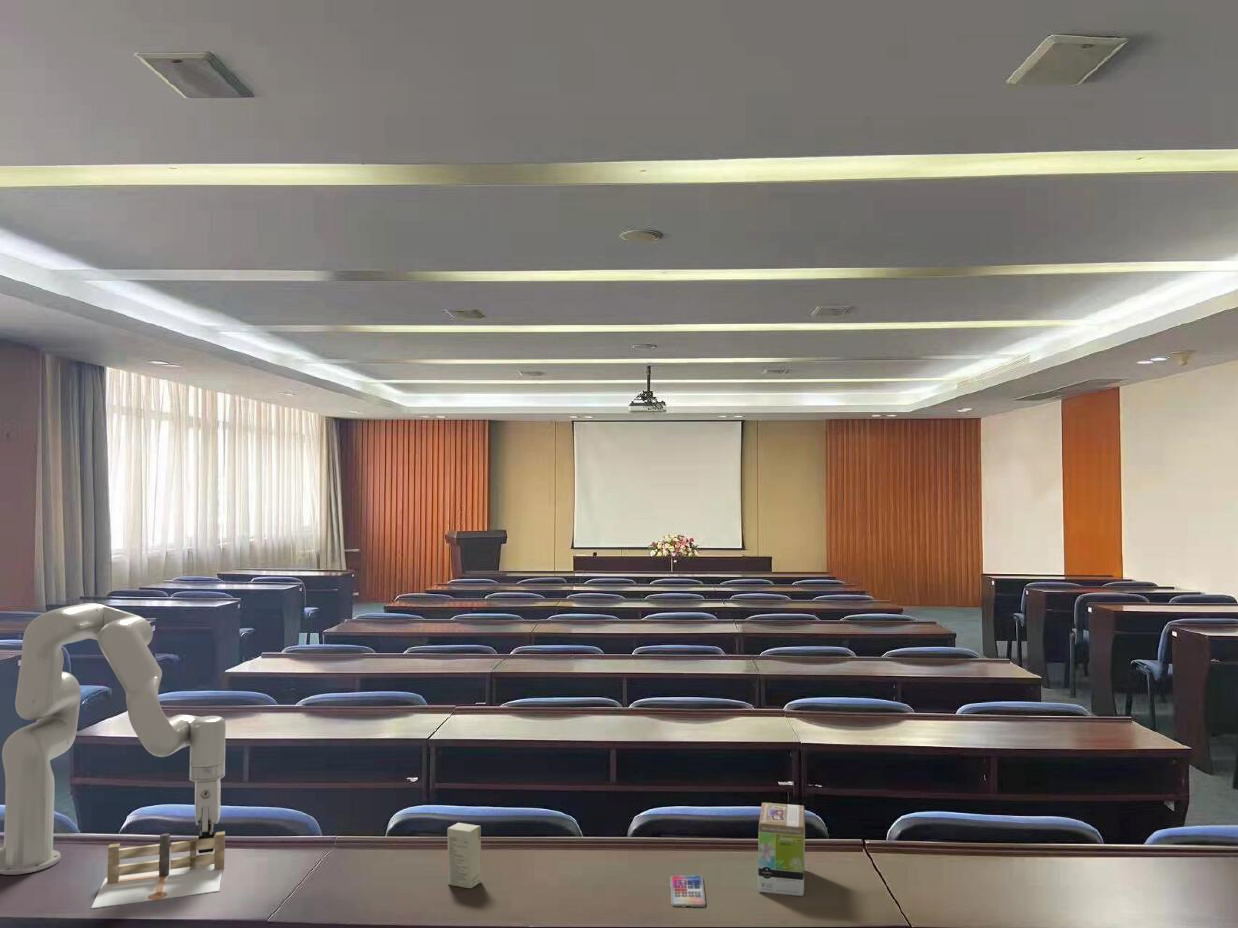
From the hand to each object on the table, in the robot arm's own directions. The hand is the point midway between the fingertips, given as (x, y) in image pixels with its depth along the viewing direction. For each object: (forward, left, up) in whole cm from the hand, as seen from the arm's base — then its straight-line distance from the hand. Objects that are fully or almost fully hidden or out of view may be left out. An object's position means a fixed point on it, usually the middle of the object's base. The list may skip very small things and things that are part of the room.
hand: (206, 851), depth 211 cm
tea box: (+120, -56, -3) cm, 132 cm away
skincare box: (+54, -33, -3) cm, 63 cm away
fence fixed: (-13, -6, -2) cm, 15 cm away
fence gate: (-1, -6, -2) cm, 6 cm away
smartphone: (+98, -54, -3) cm, 112 cm away
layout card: (-8, -11, -2) cm, 14 cm away
